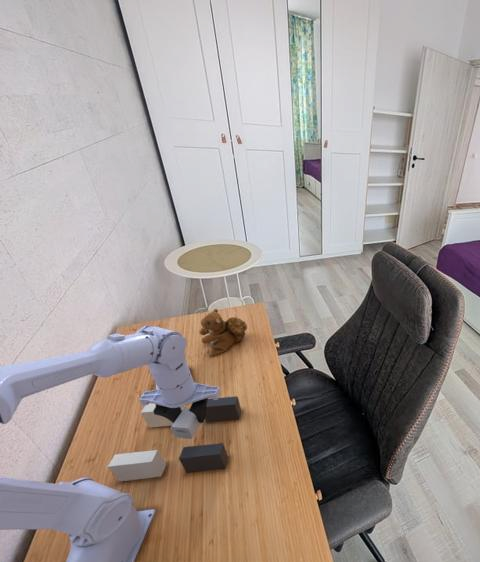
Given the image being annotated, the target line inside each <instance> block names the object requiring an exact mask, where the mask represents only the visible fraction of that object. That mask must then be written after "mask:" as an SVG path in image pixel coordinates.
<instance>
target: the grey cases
mask: <svg viewBox="0 0 480 562" xmlns="http://www.w3.org/2000/svg"><path fill="white" fill-rule="evenodd" d="M241 415H242V408H241V404H240V400H239V396H238V395H237V396H236V395H235V396H227V397H225V396H223V397H219V398H218V400H213V399H212V398H208V400H207V405H206V417H205V420H204V421H205V423H213V422H214V423H215V422H224V421H234V420H240V418H241ZM178 461H179V462H180V464H181V466H182V467H183V470H184V472H185V474H195V473H200V472H211V471H219V470H226V468H227V465H228V461H229V454H228V452H227V448H226V447H225V443H224V442H220V443H219V442H218V443H211V444H210V443H209V444H200V445H199V444H198V445H192V446H190V445H189V446H183V447H182V450H181V451H180V454H179V457H178Z"/></svg>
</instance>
